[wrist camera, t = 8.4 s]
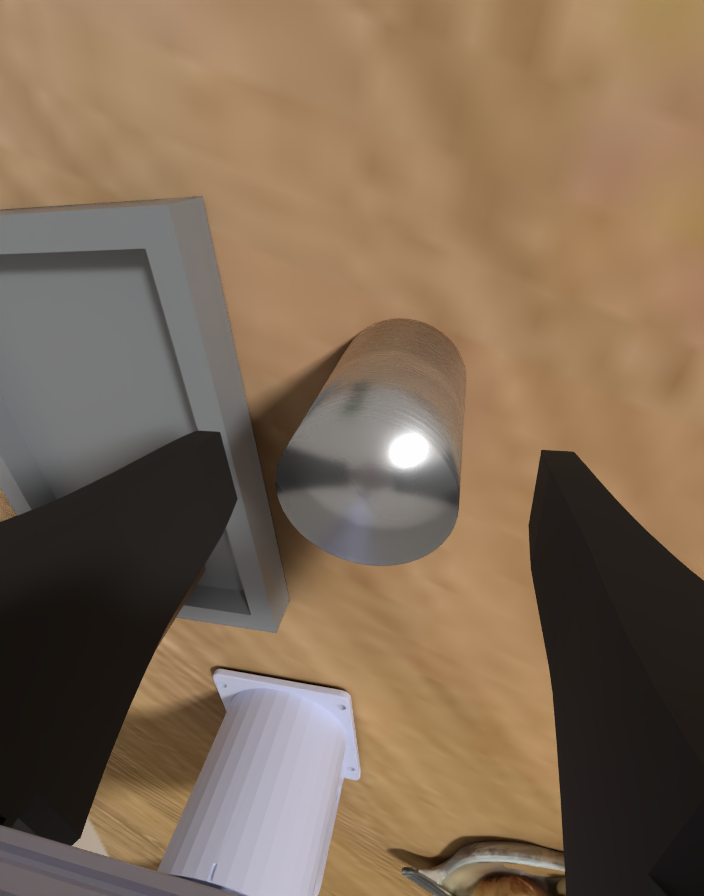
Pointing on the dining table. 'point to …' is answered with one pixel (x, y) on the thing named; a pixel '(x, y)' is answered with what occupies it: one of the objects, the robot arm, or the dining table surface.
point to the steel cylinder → (380, 448)
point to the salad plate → (492, 871)
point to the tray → (129, 374)
